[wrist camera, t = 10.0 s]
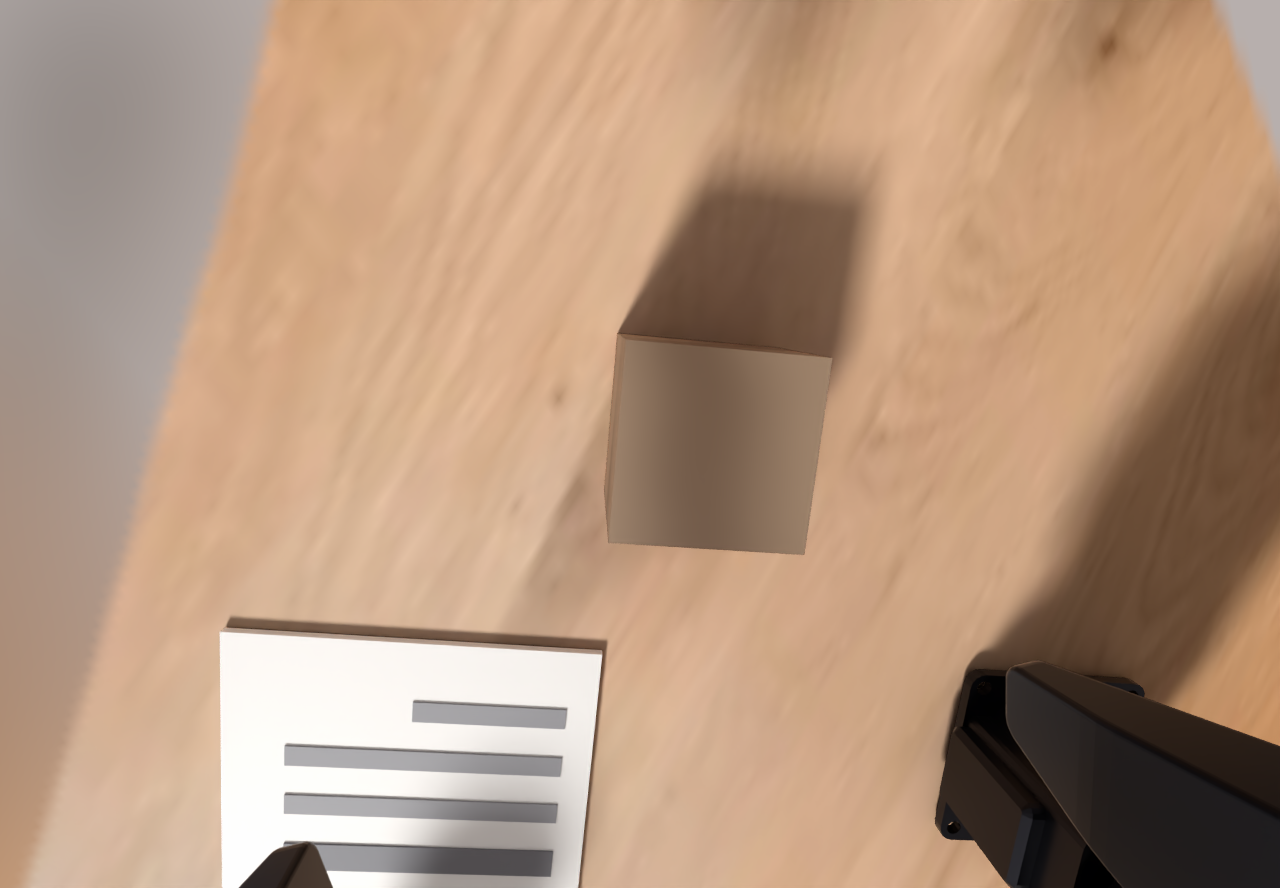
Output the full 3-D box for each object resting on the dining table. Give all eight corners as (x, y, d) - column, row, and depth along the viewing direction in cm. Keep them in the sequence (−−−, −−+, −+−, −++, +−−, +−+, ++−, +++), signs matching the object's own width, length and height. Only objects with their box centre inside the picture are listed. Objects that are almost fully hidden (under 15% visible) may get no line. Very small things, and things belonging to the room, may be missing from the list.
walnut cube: (775, 347, 21) (832, 358, 16) (756, 500, 22) (804, 554, 17) (617, 332, 21) (625, 339, 16) (604, 490, 22) (608, 542, 17)
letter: (602, 650, 22) (602, 655, 22) (575, 904, 24) (575, 914, 24) (224, 627, 21) (218, 632, 21) (227, 896, 23) (221, 905, 23)
